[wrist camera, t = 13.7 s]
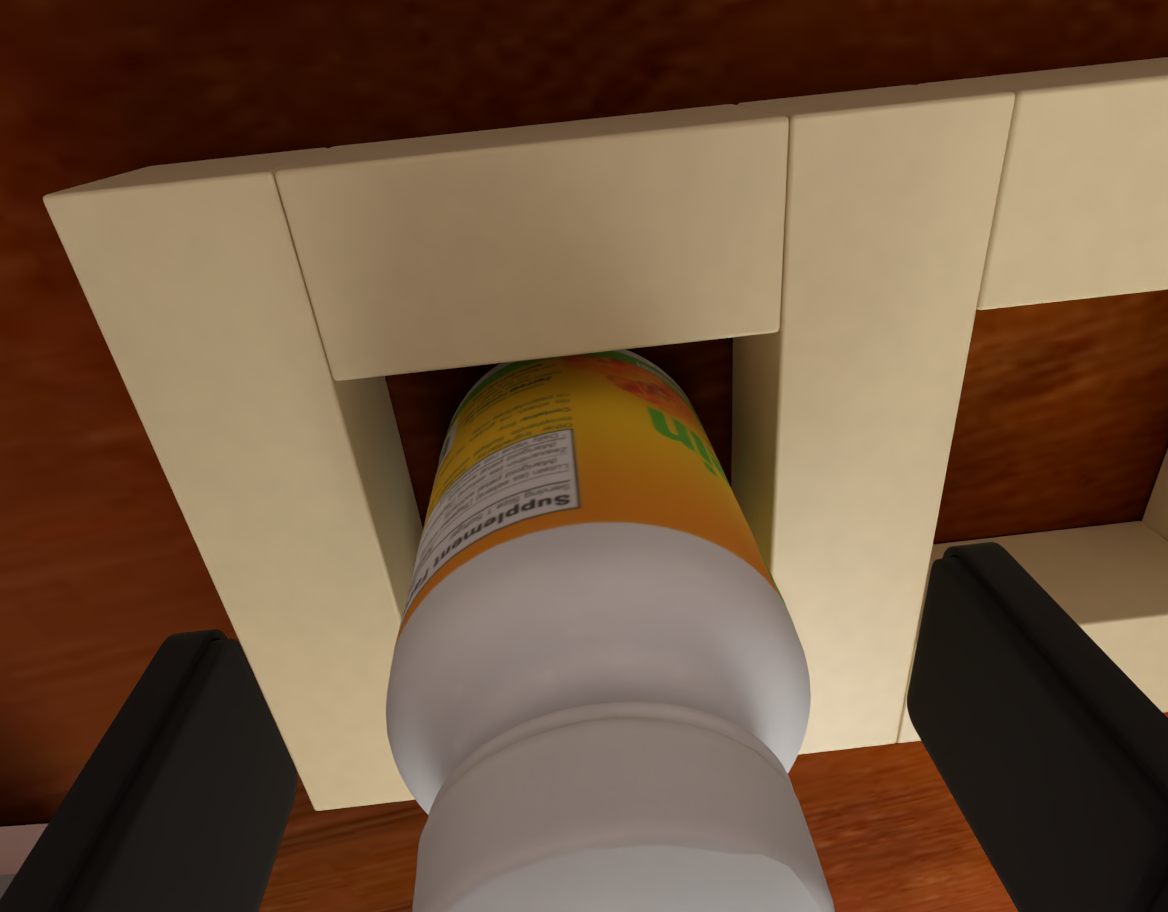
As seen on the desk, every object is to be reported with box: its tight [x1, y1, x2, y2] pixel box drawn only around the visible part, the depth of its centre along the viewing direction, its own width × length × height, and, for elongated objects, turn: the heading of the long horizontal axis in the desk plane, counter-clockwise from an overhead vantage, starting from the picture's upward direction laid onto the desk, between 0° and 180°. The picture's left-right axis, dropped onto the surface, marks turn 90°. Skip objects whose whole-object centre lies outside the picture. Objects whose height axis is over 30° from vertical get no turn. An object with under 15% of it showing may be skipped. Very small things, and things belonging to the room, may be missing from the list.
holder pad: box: [43, 57, 1168, 811], centre depth 14 cm, size 23×13×3 cm, turn 95°
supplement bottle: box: [386, 349, 835, 912], centre depth 11 cm, size 5×5×10 cm
